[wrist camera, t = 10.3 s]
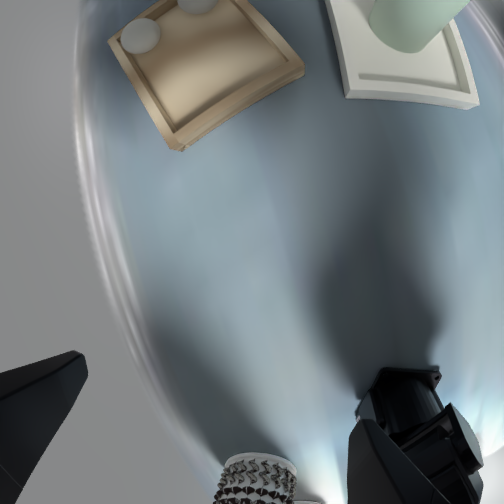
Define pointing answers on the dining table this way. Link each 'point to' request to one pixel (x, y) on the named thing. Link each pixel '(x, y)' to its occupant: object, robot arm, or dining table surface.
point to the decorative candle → (257, 480)
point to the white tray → (399, 62)
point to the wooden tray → (206, 67)
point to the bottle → (305, 502)
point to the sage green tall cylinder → (411, 21)
